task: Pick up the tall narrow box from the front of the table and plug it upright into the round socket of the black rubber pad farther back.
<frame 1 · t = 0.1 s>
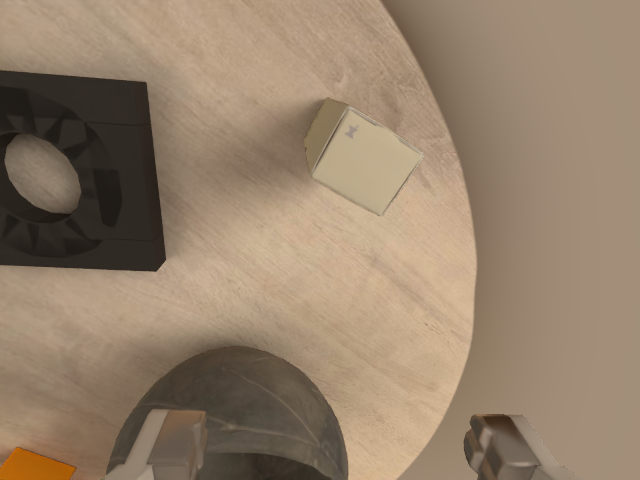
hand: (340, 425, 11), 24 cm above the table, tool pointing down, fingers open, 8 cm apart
bowl: (249, 382, 41), on the table
box: (340, 134, 31), on the table
pad: (51, 173, 31), on the table
orange juice: (36, 474, 46), on the table
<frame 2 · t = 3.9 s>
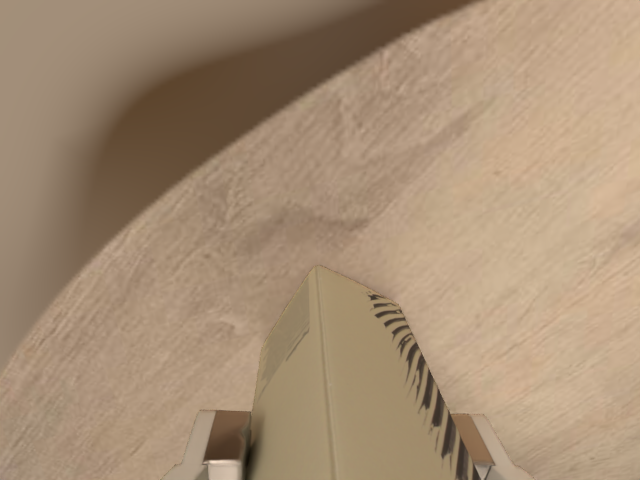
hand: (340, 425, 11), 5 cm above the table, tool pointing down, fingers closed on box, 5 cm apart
box: (329, 319, 16), on the table, touching gripper
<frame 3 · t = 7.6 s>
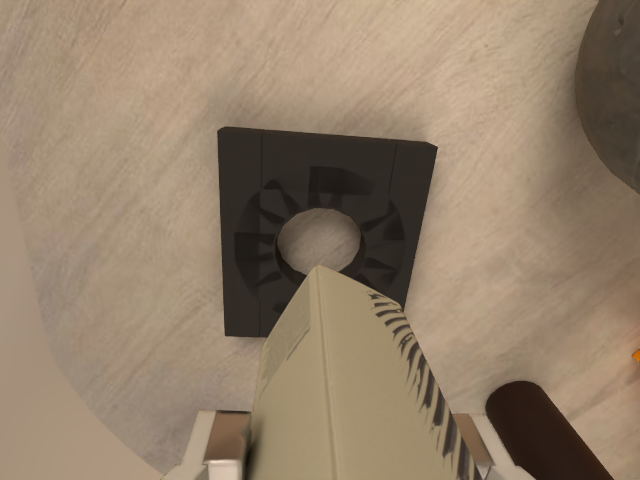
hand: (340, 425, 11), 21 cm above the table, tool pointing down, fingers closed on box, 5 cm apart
bottle: (512, 399, 40), on the table
box: (329, 318, 16), point 16 cm above the table, touching gripper
pad: (319, 239, 31), on the table
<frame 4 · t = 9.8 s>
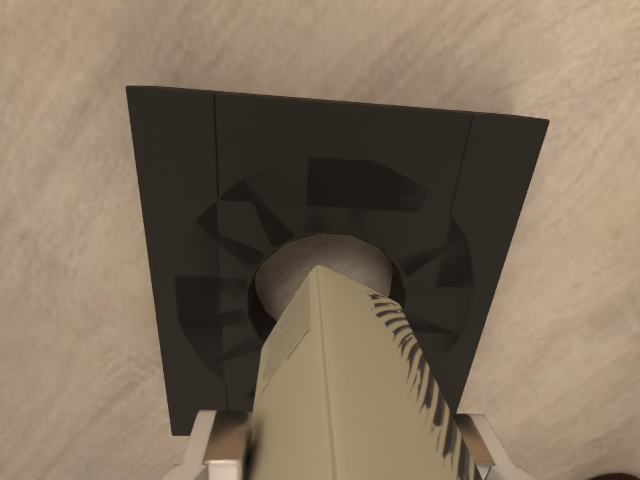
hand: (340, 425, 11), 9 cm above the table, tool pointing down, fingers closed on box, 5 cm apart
box: (329, 318, 16), point 4 cm above the table, touching gripper
pad: (324, 279, 19), on the table
when the fingers open (5 cm above the table, at t = 11.4 s): box stays where it is, resting in pad.
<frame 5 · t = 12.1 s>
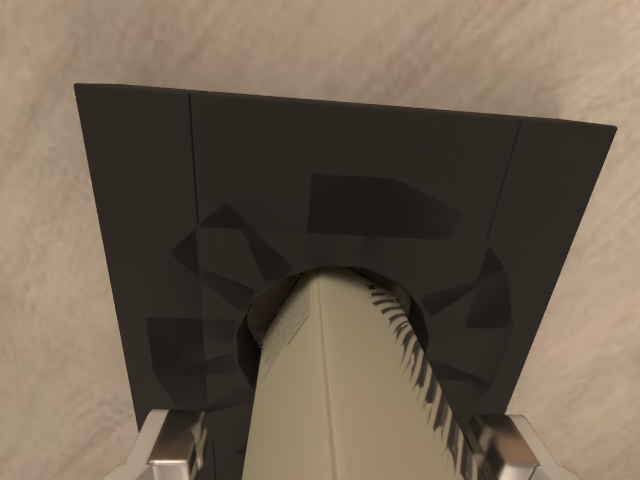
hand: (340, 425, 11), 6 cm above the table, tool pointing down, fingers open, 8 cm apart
box: (329, 309, 16), resting in pad
pad: (328, 313, 16), on the table
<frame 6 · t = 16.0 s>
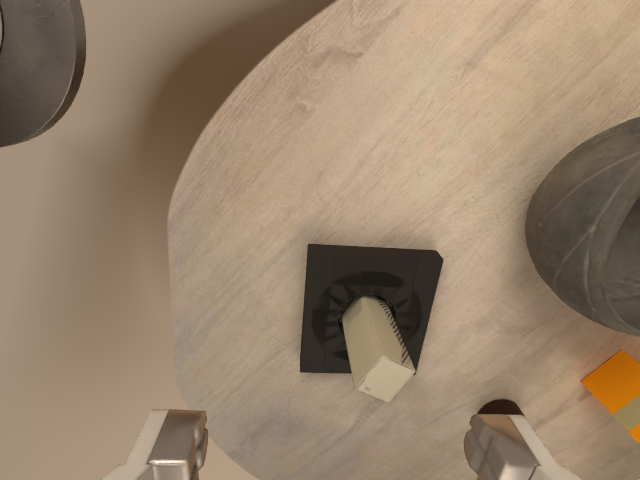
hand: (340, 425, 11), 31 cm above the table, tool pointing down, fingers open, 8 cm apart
bowl: (580, 195, 42), on the table
bottle: (496, 412, 56), on the table
box: (363, 306, 47), resting in pad
pad: (363, 308, 46), on the table
orange juice: (616, 376, 54), on the table
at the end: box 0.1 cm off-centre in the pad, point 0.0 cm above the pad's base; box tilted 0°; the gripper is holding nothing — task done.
